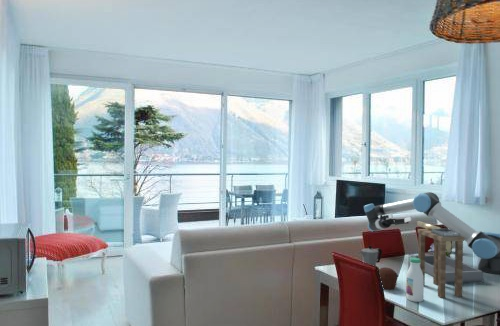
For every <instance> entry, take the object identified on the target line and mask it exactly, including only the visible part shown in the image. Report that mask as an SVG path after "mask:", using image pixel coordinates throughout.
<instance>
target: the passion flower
mask: <svg viewBox="0 0 500 326" xmlns="http://www.w3.org/2000/svg"><path fill="white" fill-rule="evenodd" d="M429 247H430V249H427V252H429V253H430V252H432V254H431V255H434V242H433V243H430V246H429ZM446 256H447V257H450V253H448V251H447V248H446Z"/></svg>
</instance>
